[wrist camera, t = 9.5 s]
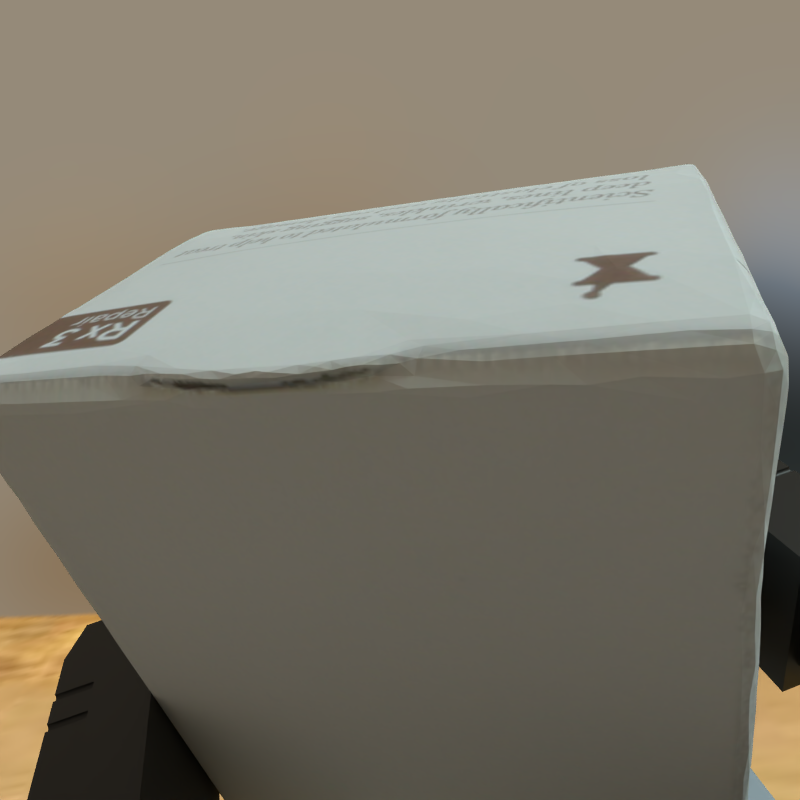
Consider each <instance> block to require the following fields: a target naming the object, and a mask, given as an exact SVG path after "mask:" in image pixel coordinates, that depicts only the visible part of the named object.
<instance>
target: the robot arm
mask: <svg viewBox="0 0 800 800" xmlns="http://www.w3.org/2000/svg"><path fill="white" fill-rule="evenodd" d="M759 667H760V668H761V669H762V670H763V671H764V672H765V673H766V674H767V676H768V677H769V678H770V679H771V680H772V681H773V682H774V683H775V684H776V685H777V686H778V687H779V688H780V690H781V691H782V692H783V691H785V690H788V689H790V688H793V687H795V686H798V685H800V474H799V473H798V472H796V471H792V472H791V471H790V469H789V466H787V465H786V464H784V463H783V462H781V461H780V460H778V463H777V470H776V477H775V484H774V491H773V498H772V506H771V512H770V519H769V525H768V532H767V538H766V544H765V551H764V565H763V581H762V590H761V632H760V656H759ZM55 696H56V701H55V702H53V704H52V708H51V712H50V716H49V720H48V723H47V725H48V732H45V735H44V738H43V742H42V746H41V750H40V754H39V757H38V761H37V765H36V769H35V772H34V776H33V780H32V784H31V787H30V791H29V795H28V799H27V800H219V791H218V790H217V788H216V787H215V785H214V784H213V782H212V781H211V779H210V778H209V776H208V775H207V774H206V772H205V771H204V769H203V768H202V766H201V765H200V763H199V762H198V760H197V759H196V757H195V756H194V754H193V753H192V752H191V750H190V749H189V747H188V746H187V744H186V743H185V741H184V740H183V738H182V737H181V735H180V734H179V732H178V731H177V729H176V728H175V727H174V725H173V724H172V722H171V721H170V719H169V718H168V716H167V715H166V713H165V712H164V710H163V709H162V708H161V706H160V705H159V703H158V702H157V700H156V699H155V697H154V696H153V695H152V693H151V692H150V690H149V689H148V687H147V686H146V684H145V683H144V682H143V680H142V679H141V677H140V676H139V674H138V673H137V671H136V670H135V669H134V667H133V666H132V664H131V663H130V661H129V660H128V658H127V657H126V656H125V654H124V653H123V651H122V650H121V648H120V647H119V645H118V644H117V642H116V641H115V639H114V638H113V636H112V635H111V633H110V632H109V630H108V629H107V627H106V626H105V624H104V623H103V621H102V620H101V621H98V622H95V623H92V624H89V625H87V626H86V628H85V629H84V631H83V632H82V634H81V635H80V637H79V638H78V640H77V641H76V643H75V644H74V646H73V647H72V649H71V650H70V652H69V653H68V655H67V656H66V658H65V659H64V663H63V667H62V670H61V674H60V678H59V682H58V686H57V689H56V693H55Z"/></svg>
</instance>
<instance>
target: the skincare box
mask: <svg viewBox="0 0 800 800" xmlns="http://www.w3.org/2000/svg"><path fill="white" fill-rule="evenodd" d="M788 373H789V372H788V355H787V352H786V350H785V347H784V345H783V343H782V341H781V338H780V336H779V333H778V331H777V328H776V326H775V323H774V321H773V319H772V317H771V315H770V313H769V311H768V309H767V307H766V306H765V304H764V302H763V300H762V298H761V295H760V293H759V291H758V288H757V286H756V284H755V282H754V280H753V277H752V275H751V273H750V271H749V269H748V267H747V264H746V262H745V259H744V257H743V255H742V253H741V251H740V249H739V247H738V245H737V244H736V242H735V240H734V238H733V235H732V233H731V231H730V229H729V227H728V225H727V223H726V220H725V218H724V216H723V214H722V212H721V211H720V209H719V207H718V205H717V203H716V200H715V198H714V195H713V193H712V192H711V190H710V187H709V185H708V183H707V182H706V180H705V178H704V177H703V176H702V175H701V174H700V172H699V170H698V169H697V168H696V166H695V165H691V164H686V165H679V166H673V167H666V168H660V169H653V170H646V171H641V172H632V173H625V174H617V175H609V176H602V177H594V178H587V179H580V180H573V181H565V182H558V183H550V184H543V185H535V186H529V187H520V188H513V189H506V190H499V191H493V192H485V193H478V194H471V195H464V196H457V197H450V198H442V199H436V200H429V201H422V202H415V203H408V204H401V205H395V206H387V207H381V208H373V209H366V210H360V211H353V212H345V213H339V214H332V215H325V216H318V217H312V218H304V219H297V220H291V221H283V222H277V223H270V224H264V225H256V226H247V227H238V228H228V229H220V230H213V231H209V232H205V233H203V234H201V235H199V236H196V237H194V238H192V239H190V240H188V241H186V242H184V243H182V244H180V245H179V246H177V247H175V248H174V249H172V250H170V251H168V252H167V253H165V254H164V255H162V256H160V257H159V258H157V259H155V260H154V261H152V262H151V263H149V264H148V265H146V266H145V267H143V268H141V269H140V270H138V271H137V272H135V273H134V274H132V275H131V276H129V277H127V278H126V279H124V280H123V281H121V282H120V283H118V284H116V285H115V286H113V287H111V288H110V289H108V290H106V291H105V292H103V293H101V294H100V295H98V296H96V297H95V298H93V299H91V300H90V301H88V302H87V303H85V304H83V305H82V306H80V307H79V308H77V309H75V310H73V311H71V312H70V313H68V314H66V315H65V316H63V317H62V318H60V319H59V320H57V321H56V322H54V323H53V324H51V325H49V326H48V327H46V328H44V329H42V330H41V331H39V332H38V333H36V334H34V335H32V336H31V337H29V338H28V339H26V340H25V341H23V342H21V343H20V344H18V345H17V346H15V347H14V348H12V349H11V350H9V351H8V352H6V353H5V354H3V355H2V356H0V473H1V475H2V476H3V478H4V479H5V481H6V482H7V484H8V485H9V486H10V488H11V489H12V490H13V492H14V493H15V494H16V496H17V497H18V498H19V500H20V501H21V503H22V504H23V506H24V507H25V509H26V511H27V512H28V514H29V515H30V517H31V519H32V520H33V522H34V523H35V525H36V526H37V528H38V529H39V530H40V532H41V533H42V535H43V536H44V537H45V539H46V540H47V542H48V543H49V544H50V546H51V547H52V549H53V550H54V552H55V553H56V554H57V556H58V557H59V559H60V560H61V562H62V563H63V565H64V566H65V568H66V569H67V571H68V572H69V574H70V575H71V577H72V578H73V580H74V581H75V583H76V584H77V586H78V587H79V589H80V590H81V592H82V593H83V595H84V596H85V597H86V599H87V600H88V601H89V603H90V604H91V605H92V607H93V608H94V610H95V611H96V612H97V614H98V615H99V617H100V618H101V620H102V621H103V623H104V624H105V626H106V627H107V629H108V630H109V632H110V633H111V635H112V636H113V638H114V639H115V641H116V642H117V644H118V645H119V647H120V648H121V650H122V651H123V653H124V654H125V656H126V657H127V658H128V660H129V661H130V663H131V664H132V666H133V667H134V669H135V670H136V671H137V673H138V674H139V676H140V677H141V679H142V680H143V682H144V683H145V684H146V686H147V687H148V689H149V690H150V692H151V693H152V695H153V696H154V697H155V699H156V700H157V702H158V703H159V705H160V706H161V708H162V709H163V710H164V712H165V713H166V715H167V716H168V718H169V719H170V721H171V722H172V724H173V725H174V727H175V728H176V729H177V731H178V732H179V734H180V735H181V737H182V738H183V740H184V741H185V743H186V744H187V746H188V747H189V749H190V750H191V752H192V753H193V754H194V756H195V757H196V759H197V760H198V762H199V763H200V765H201V766H202V768H203V769H204V771H205V772H206V774H207V775H208V776H209V778H210V779H211V781H212V782H213V784H214V785H215V787H216V788H217V790H218V791H219V793H220V794H221V796H222V797H223V799H224V800H748V790H749V775H750V767H751V759H752V747H753V735H754V724H755V713H756V695H757V681H758V670H759V656H760V632H761V590H762V581H763V565H764V551H765V544H766V538H767V532H768V525H769V519H770V512H771V506H772V498H773V491H774V484H775V477H776V470H777V463H778V457H779V450H780V444H781V437H782V430H783V424H784V418H785V411H786V404H787V395H788V387H789V376H788V375H789V374H788Z"/></svg>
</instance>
